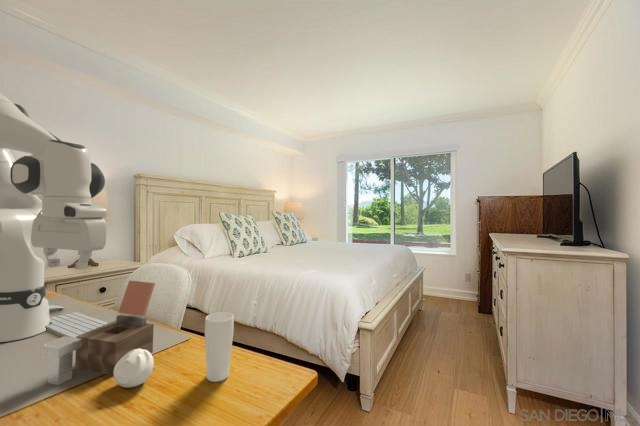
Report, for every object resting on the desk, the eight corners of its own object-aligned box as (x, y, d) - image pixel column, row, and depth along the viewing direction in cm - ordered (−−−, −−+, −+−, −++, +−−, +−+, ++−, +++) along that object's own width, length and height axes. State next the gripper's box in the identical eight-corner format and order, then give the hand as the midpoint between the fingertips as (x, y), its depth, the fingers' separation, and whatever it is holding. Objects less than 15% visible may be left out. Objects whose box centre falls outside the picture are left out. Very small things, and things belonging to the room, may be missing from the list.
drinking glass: (204, 387, 67) (206, 323, 67) (201, 372, 73) (203, 313, 73) (234, 381, 71) (236, 319, 70) (229, 367, 77) (231, 310, 76)
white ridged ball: (105, 392, 65) (106, 357, 65) (131, 373, 72) (132, 342, 72) (137, 396, 64) (138, 361, 63) (161, 377, 71) (162, 345, 71)
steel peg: (38, 385, 66) (39, 345, 66) (63, 372, 71) (64, 336, 71) (56, 388, 65) (58, 348, 65) (80, 376, 70) (81, 338, 70)
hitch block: (75, 368, 73) (76, 328, 73) (117, 346, 85) (118, 312, 85) (114, 375, 71) (116, 334, 71) (152, 352, 83) (153, 317, 83)
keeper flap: (118, 312, 83) (121, 312, 84) (142, 315, 81) (144, 315, 82) (129, 280, 86) (131, 281, 87) (152, 282, 84) (155, 283, 85)
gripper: (21, 209, 69) (21, 267, 69) (84, 210, 63) (83, 273, 63) (52, 209, 75) (52, 262, 75) (112, 210, 69) (111, 268, 69)
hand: (67, 267), depth 69 cm, fingers open, 8 cm apart
